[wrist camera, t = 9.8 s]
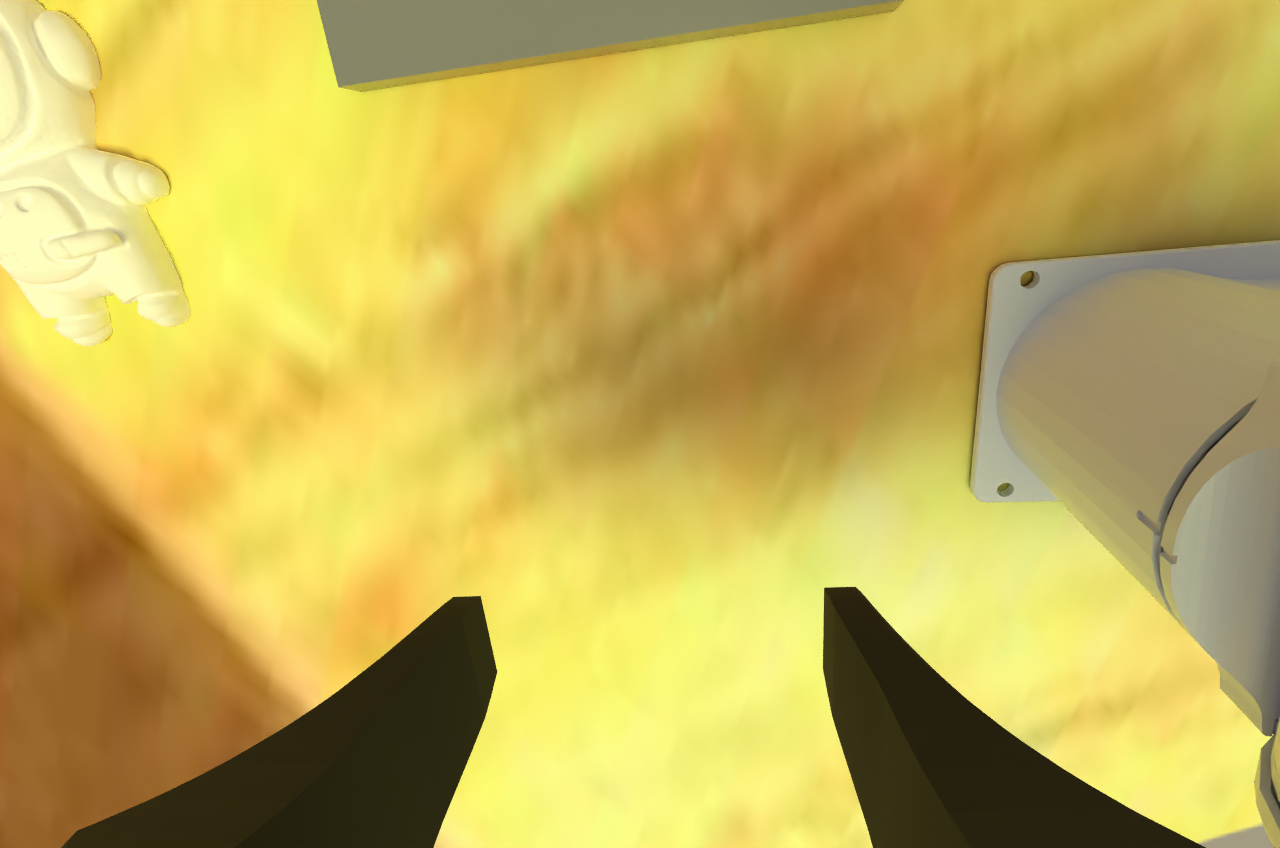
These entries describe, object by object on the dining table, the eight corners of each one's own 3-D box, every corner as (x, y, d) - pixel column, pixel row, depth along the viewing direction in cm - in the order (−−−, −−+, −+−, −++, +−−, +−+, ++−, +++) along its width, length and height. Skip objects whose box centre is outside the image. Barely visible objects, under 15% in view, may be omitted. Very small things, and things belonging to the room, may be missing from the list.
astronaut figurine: (54, 348, 26) (-29, 370, 23) (-118, 11, 21) (-245, -12, 19) (235, 320, 24) (169, 339, 21) (86, -52, 20) (-20, -88, 17)
